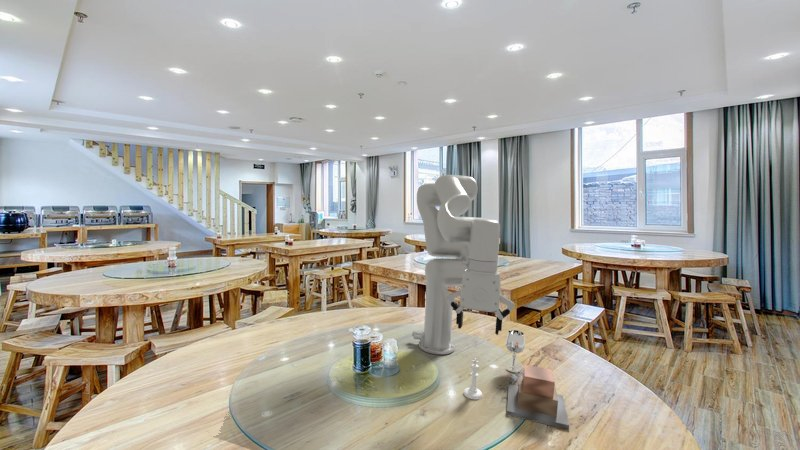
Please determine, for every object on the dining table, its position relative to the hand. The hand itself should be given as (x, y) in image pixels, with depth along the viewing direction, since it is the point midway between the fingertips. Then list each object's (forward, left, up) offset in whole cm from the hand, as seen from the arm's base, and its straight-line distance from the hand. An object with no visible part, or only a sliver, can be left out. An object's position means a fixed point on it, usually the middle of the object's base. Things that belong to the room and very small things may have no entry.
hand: (478, 330), depth 95 cm
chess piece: (0, 0, -18) cm, 18 cm away
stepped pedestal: (+16, +1, -18) cm, 24 cm away
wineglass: (+10, +20, -18) cm, 29 cm away
